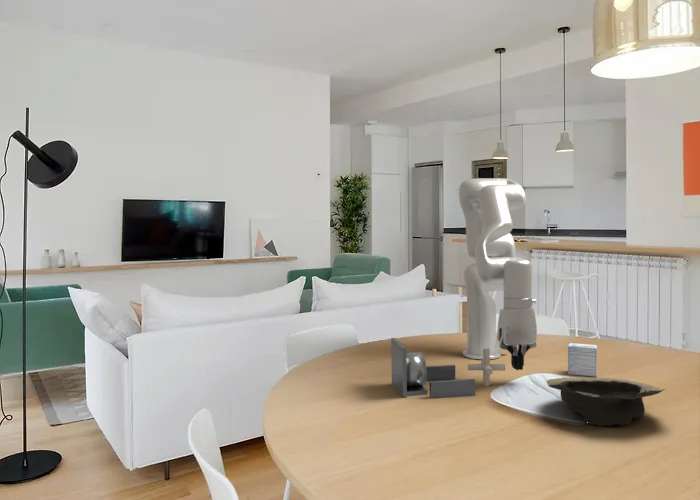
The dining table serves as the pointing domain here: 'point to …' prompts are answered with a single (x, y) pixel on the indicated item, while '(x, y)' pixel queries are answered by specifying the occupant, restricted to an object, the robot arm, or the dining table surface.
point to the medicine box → (582, 359)
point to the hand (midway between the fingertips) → (517, 368)
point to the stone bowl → (604, 398)
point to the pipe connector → (486, 367)
